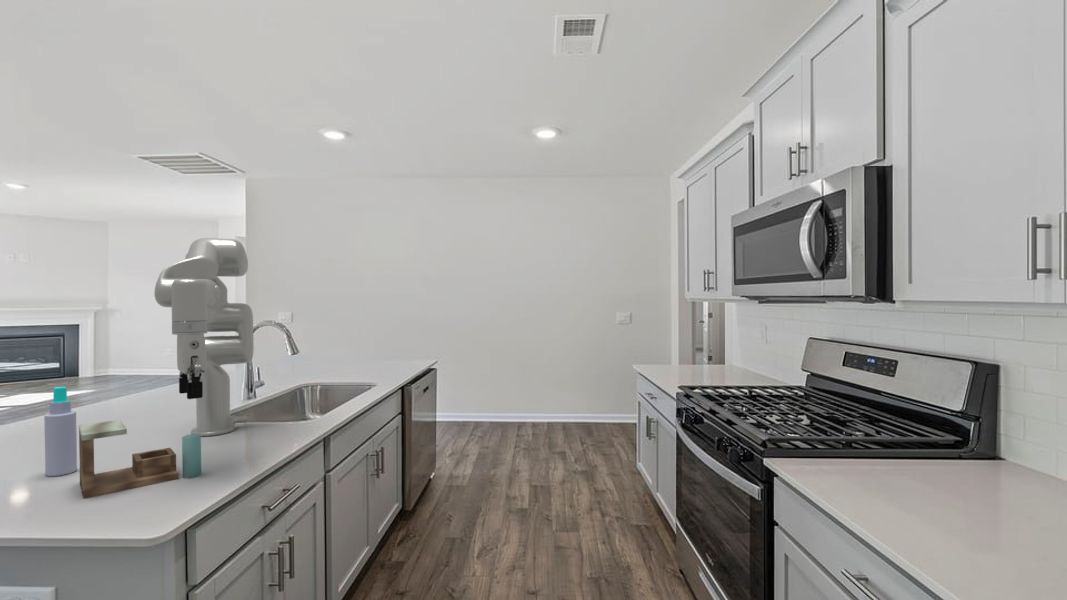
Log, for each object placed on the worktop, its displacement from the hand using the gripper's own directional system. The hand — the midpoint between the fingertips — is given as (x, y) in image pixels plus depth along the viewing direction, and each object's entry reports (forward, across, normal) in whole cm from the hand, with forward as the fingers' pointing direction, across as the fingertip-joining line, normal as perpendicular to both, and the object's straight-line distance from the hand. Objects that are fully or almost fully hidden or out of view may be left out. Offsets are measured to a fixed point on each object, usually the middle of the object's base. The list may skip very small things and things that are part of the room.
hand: (190, 395), depth 133 cm
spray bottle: (+20, +25, +24) cm, 40 cm away
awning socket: (+20, +6, +12) cm, 24 cm away
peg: (+20, 0, 0) cm, 20 cm away
